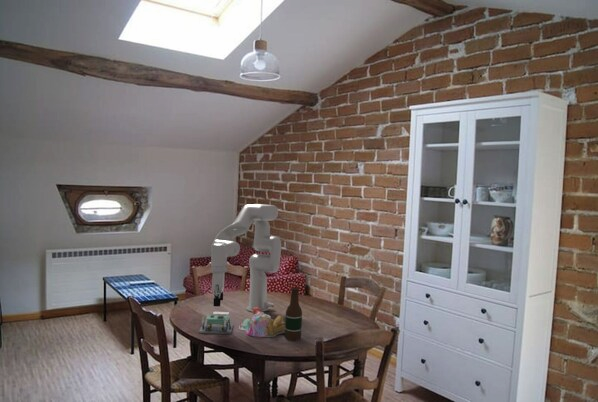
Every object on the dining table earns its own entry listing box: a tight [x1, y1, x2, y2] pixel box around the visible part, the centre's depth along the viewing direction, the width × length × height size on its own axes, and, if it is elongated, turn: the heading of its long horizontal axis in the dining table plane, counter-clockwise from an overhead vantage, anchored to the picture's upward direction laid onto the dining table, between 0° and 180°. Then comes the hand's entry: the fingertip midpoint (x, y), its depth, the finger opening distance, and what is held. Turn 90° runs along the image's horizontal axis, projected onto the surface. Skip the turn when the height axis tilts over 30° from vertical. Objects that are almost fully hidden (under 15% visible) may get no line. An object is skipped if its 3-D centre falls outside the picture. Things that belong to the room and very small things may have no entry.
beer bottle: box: [284, 286, 303, 342], centre depth 210 cm, size 8×8×24 cm
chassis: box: [198, 313, 234, 335], centre depth 218 cm, size 15×12×6 cm
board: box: [205, 314, 229, 325], centre depth 218 cm, size 10×6×3 cm, turn 92°
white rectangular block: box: [212, 311, 230, 321], centre depth 233 cm, size 8×4×4 cm, turn 92°
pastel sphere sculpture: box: [238, 307, 285, 338], centre depth 221 cm, size 25×24×9 cm
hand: (218, 303), depth 218 cm, fingers open, 9 cm apart
